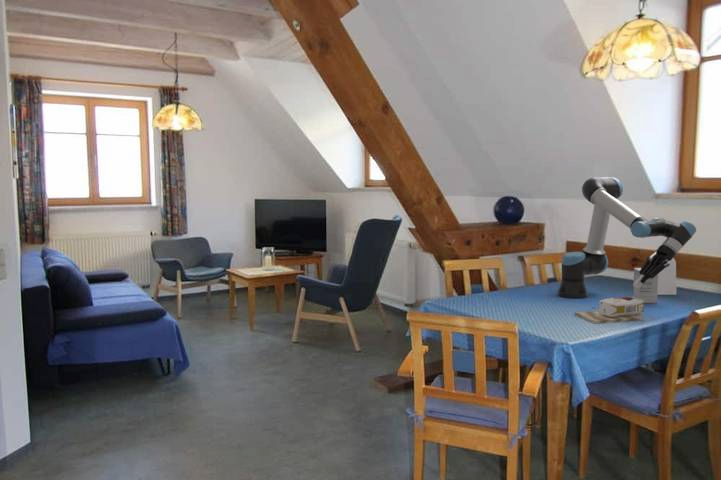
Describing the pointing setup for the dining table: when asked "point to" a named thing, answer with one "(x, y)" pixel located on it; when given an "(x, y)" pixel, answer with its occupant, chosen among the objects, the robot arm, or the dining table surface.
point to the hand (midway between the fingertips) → (635, 287)
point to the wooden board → (606, 317)
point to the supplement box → (646, 288)
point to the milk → (667, 279)
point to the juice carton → (621, 306)
